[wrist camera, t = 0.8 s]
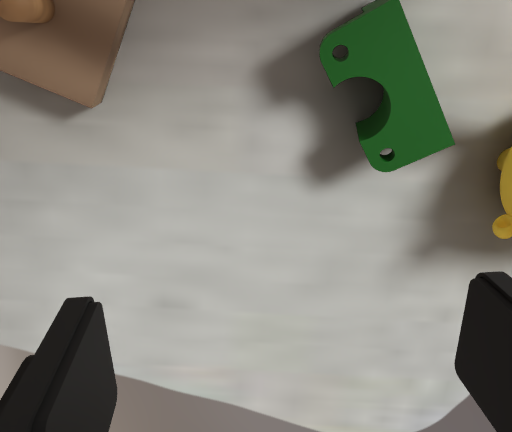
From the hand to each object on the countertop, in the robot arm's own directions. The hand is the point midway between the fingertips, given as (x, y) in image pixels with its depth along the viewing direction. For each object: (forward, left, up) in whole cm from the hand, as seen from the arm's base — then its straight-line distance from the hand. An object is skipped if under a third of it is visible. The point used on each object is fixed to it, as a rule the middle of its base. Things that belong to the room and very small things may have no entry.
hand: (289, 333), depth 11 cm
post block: (-2, -16, -27) cm, 31 cm away
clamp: (-7, +8, -28) cm, 30 cm away
